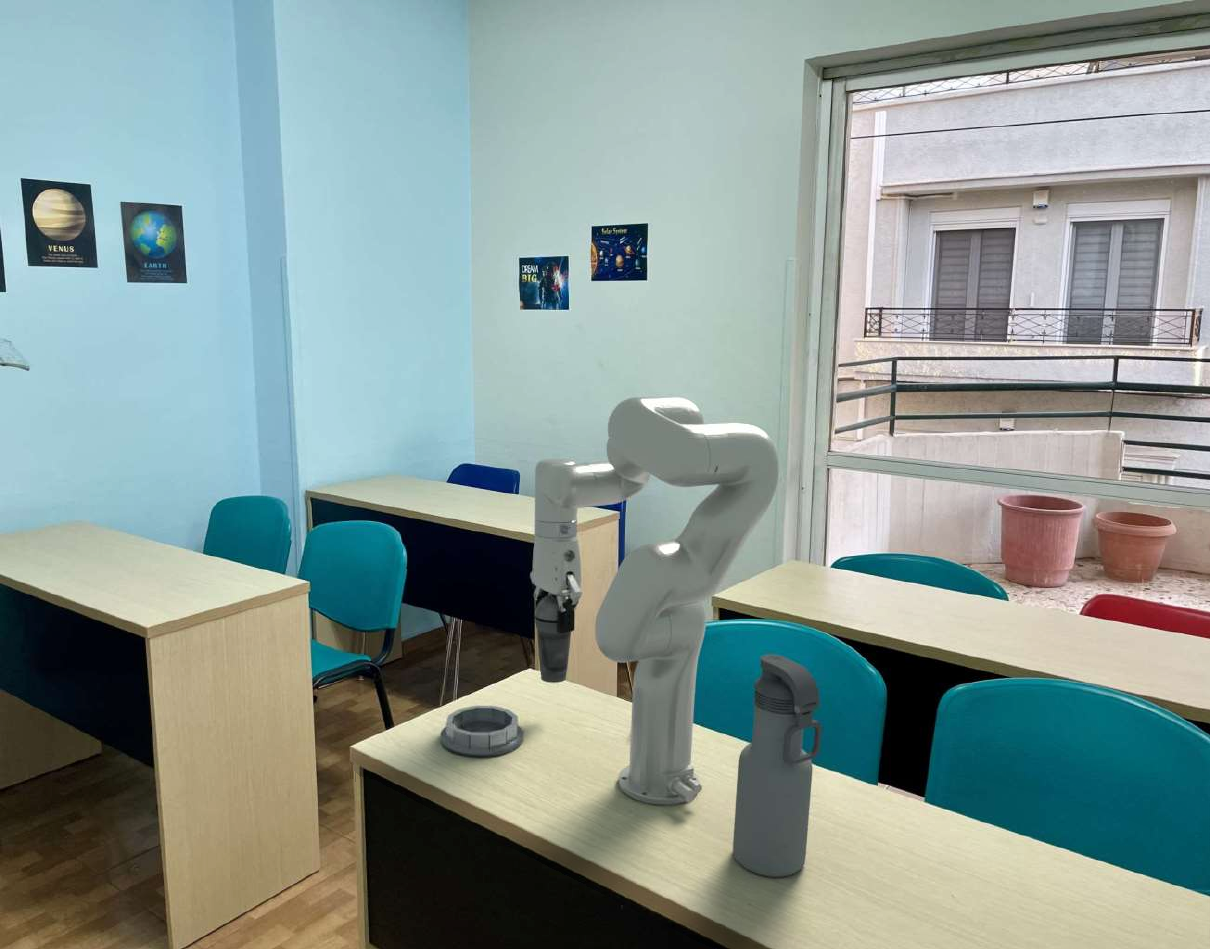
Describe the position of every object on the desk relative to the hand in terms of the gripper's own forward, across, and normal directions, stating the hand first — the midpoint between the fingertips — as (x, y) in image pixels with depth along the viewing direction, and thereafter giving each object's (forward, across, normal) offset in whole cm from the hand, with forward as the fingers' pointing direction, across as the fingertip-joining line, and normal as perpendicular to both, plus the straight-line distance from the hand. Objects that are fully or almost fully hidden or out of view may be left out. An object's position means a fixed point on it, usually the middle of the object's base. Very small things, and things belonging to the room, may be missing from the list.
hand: (554, 625), depth 167 cm
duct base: (+17, -2, +15) cm, 23 cm away
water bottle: (+19, -54, -3) cm, 57 cm away
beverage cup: (+10, 0, 0) cm, 10 cm away
